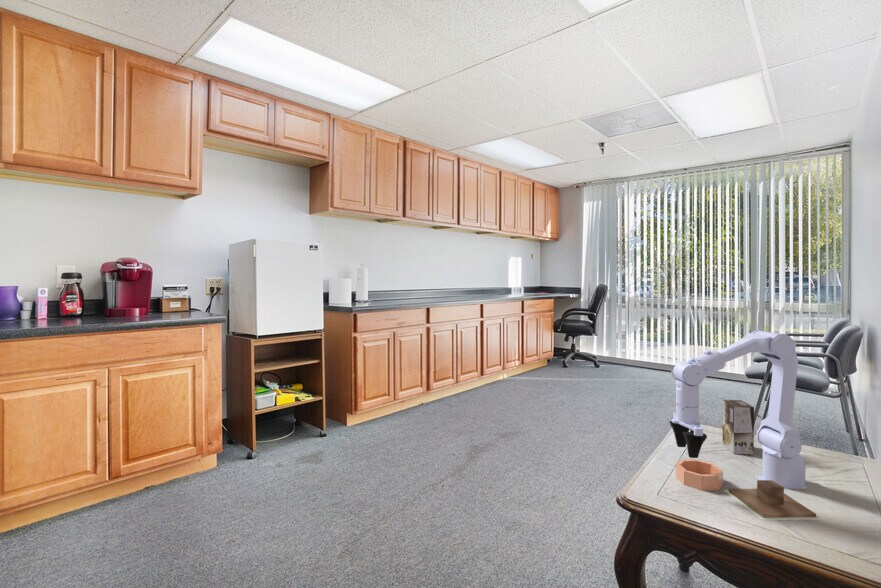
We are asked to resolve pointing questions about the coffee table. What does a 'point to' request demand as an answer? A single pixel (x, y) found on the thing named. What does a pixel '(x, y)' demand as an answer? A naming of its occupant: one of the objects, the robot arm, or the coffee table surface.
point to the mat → (773, 517)
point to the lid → (771, 501)
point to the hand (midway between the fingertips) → (687, 451)
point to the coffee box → (738, 426)
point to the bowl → (699, 474)
